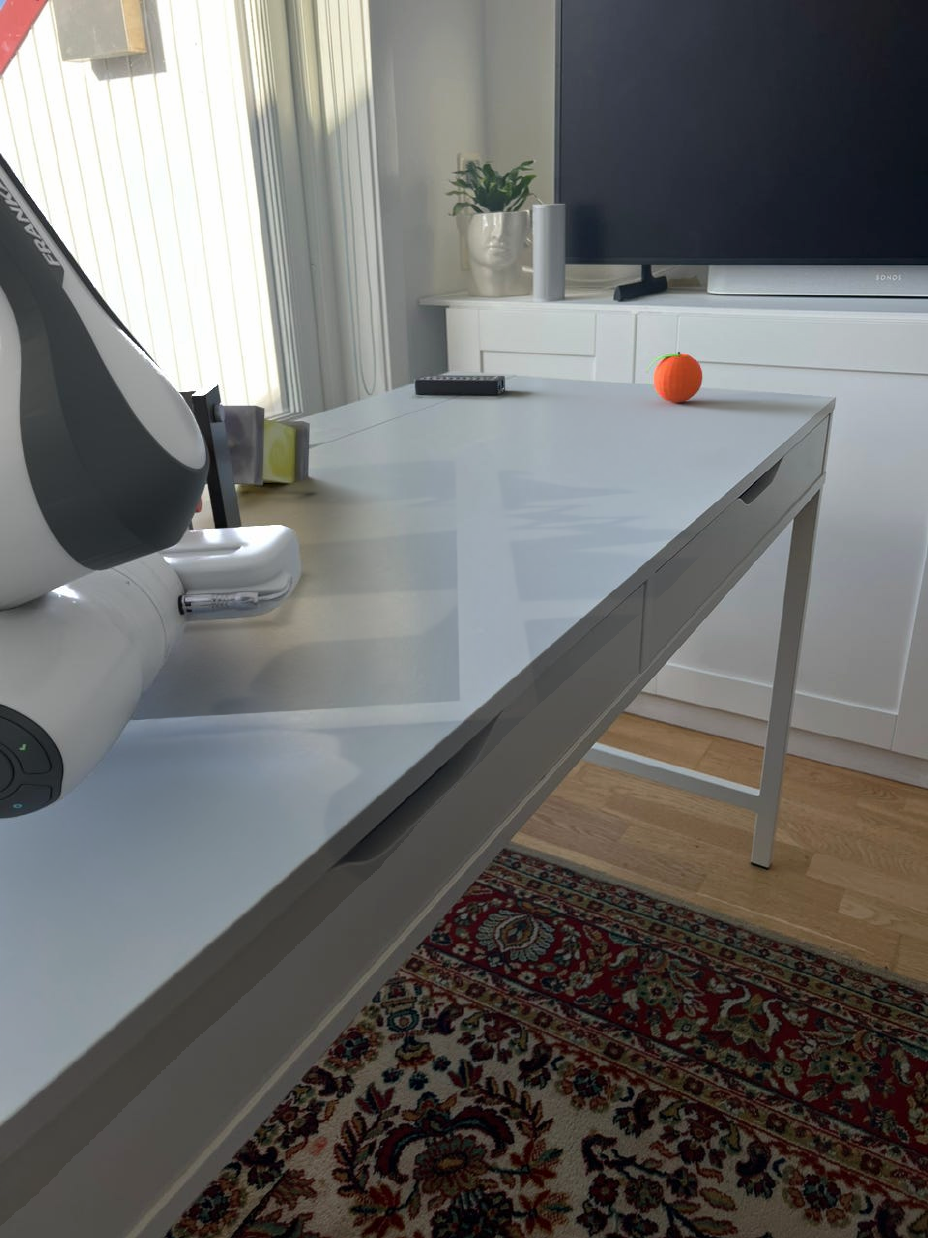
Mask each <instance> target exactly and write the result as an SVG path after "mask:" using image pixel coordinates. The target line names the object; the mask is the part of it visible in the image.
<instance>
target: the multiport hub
mask: <svg viewBox="0 0 928 1238" xmlns="http://www.w3.org/2000/svg"><path fill="white" fill-rule="evenodd" d="M413 381H414V395H440V396H441V395H444V396H446V395H447V396H499V395H501V394H502V393H503V392H505V391H506V376H504V375H450V374H449V375H448V374H447V375H446V374H445V375H443V374H442V375H438V374H437V375H436V374H435V375H434V374H432V375H431V374H430V375H429V374H424V375H422V376H420V377H418V378H416V379H414V380H413ZM503 388H504V389H503Z"/></svg>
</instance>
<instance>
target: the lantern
mask: <svg viewBox="0 0 928 1238" xmlns="http://www.w3.org/2000/svg"><path fill="white" fill-rule="evenodd" d="M223 408H224V412H225V420H224V422H225V428H226V434H227V440H228V446H229V452H230V458H231V464H232V471H233V477H234V483H235V486H236V485H240V486H242V485H243V486H244V485H245V486H263V485H264V484H292V483H294V482H302V481H304V480H305V479H306V478H308V477H309V470H310V469H309V463H310V436H311V435H310V429H311V428H310V427H311V423H310V422H307V421H304V420H270V419H268V418H265V408H264V407H261V406H258V405H223ZM205 485H207V480H206V483H205Z"/></svg>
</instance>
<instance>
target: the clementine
mask: <svg viewBox="0 0 928 1238" xmlns="http://www.w3.org/2000/svg"><path fill="white" fill-rule="evenodd" d="M658 360H659V361H660V362H659V363H658V364H657V365H656V367H655V369H654V372H653V387H654V389H655V392H656V393H657V394H658V395H659V397H661V398H662V399H663V400H665V401H667V402H670V403H674V404H676V403H677V404H678V403H683V402H686V401H689V400H691V399H692V398H693V397H694V396H696V394H697V393H698V392H699V390H700V388H701V386H702V383H703V370H702V367H701V365H700V364H699V362H698V360H697V359H696V358H694V357H692V355H690V354H688V353H681V351H678V352H677V353H668V354H663V355H661V356H659V357H657V358H655V359H654V360H653V361H652V362H651V363H650V364H649V365H648V368H647V370H646V373H648V371H649V370H650V367H651V366H653V364H654V363H655V362H657V361H658Z"/></svg>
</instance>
